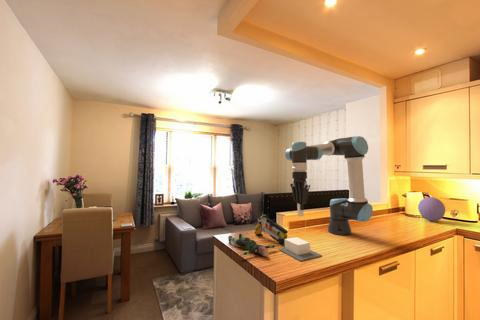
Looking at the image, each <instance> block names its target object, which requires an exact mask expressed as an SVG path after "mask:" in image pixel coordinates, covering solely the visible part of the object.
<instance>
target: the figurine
mask: <svg viewBox="0 0 480 320" xmlns="http://www.w3.org/2000/svg"><path fill="white" fill-rule="evenodd" d="M227 239H228V244H231V243H232V244H233V245H235V246H238V247H240V248H245V249H246V250H245V251H243V252H241V253H239V254H238V256H239V257H242V256H246V255H249V254H251V253H253V254H255V255H258V254H259V257H268V255H269V249H274V248H276V247H278V244H270V245H262V244H257V241H255V239H250V237H247V236H245V235H243V233H239V234H238V238H237V237H233V236H232V235H228V238H227Z"/></svg>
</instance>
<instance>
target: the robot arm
mask: <svg viewBox="0 0 480 320" xmlns="http://www.w3.org/2000/svg"><path fill="white" fill-rule="evenodd" d="M368 151H369V143H368V141H367V140H366V138H365V137H363V136H361V135H359V136H358V135H357V136H355V135H354V136H349V137H342V138H341V137H340V138H336V139H333V140H328V141H325V142H324V143H317V144H311V145H307V142H305V141H293V142H292V144H291V147H290V148H287V149H286V150H285V152H284V157H285V158H286V160H287V161H291V169H292V170H291V171H292V174H291V175H292V179H293V181H292V182H293V183H292V182H291V183H289V184H290V187H291V192H292V197H293V202H295V203H296V209H297V217H299V218H300V217H304V215H305V214H304V211H305V204H307V202H308V197H309V192H310V188H311V184H308V183H307V178H308V173H307V171H308V166H307V165H308V161H317V160H319V161H320V159H322V157H323V156H327V157H329V156H344V159H345V161H346V162H347V173H348V174H347V176H348V187H349V188H348V189H349V197H348V198H332V199H330V201H329V216H330V219H329V223H328V226H327V232H328V233H330V234H334V235H338V236H348V235H351V234H352V228H351V225H350V222H349V220H352V221H353V220H354V221H357V222H362V223H363V222H364V223H366V222H369V221H370V220H371V218H372V216H373V211H374V210H373V206H372V204H371V203H369V202H368V201H369V200H368V198H366V197H365V195H366V193H365V184H364V182H365V181H364V180H365V179H364V169H363V168H364V166H363V160H364V159H365V157H366V156H365V155H366V154H367V153H369V152H368Z"/></svg>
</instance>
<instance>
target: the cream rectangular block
mask: <svg viewBox="0 0 480 320" xmlns="http://www.w3.org/2000/svg"><path fill="white" fill-rule="evenodd" d="M283 248H285V249H287V250H289V251H291V252H293V253H295V254H297V255H301V254H305V253H310V250H311V243H310V242H309V241H306V240H304V239H302V238H299V237H296V236H294V237H287V238H286V239H284V245H283Z"/></svg>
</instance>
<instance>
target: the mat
mask: <svg viewBox="0 0 480 320" xmlns="http://www.w3.org/2000/svg"><path fill="white" fill-rule="evenodd" d="M278 250H279V251H280V252H281V253H283V254H286V255H287V256H289V257H291V258H293V259H295V260H297V261H298V262H305V261H309V260H312V259H313V260H314V259H317V258H321V257H323V255H322V254H320V253H318V252H316V251H313V250H311V249H310V253H305V254H301V255H297V254H295V253H293V252H291V251H289V250H287V249H285V248H284V247H283V248H282V247H281V248H279V249H278Z"/></svg>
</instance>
